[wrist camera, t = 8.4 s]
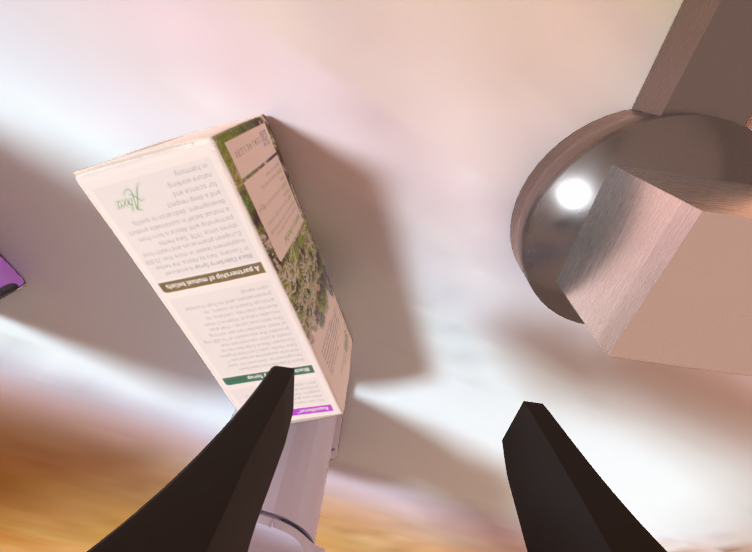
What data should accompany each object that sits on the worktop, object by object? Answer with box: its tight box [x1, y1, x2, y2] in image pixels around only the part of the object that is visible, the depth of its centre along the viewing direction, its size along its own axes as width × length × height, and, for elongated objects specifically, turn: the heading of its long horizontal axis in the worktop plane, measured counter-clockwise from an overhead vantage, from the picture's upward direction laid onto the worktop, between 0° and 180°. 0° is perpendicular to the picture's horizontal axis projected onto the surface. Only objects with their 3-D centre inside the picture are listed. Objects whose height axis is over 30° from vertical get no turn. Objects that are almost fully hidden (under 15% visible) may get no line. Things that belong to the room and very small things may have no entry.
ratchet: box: [510, 0, 752, 324], centre depth 12 cm, size 20×10×6 cm, turn 172°
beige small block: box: [556, 164, 752, 376], centre depth 14 cm, size 6×6×5 cm
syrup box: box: [74, 114, 353, 423], centre depth 18 cm, size 6×6×14 cm
